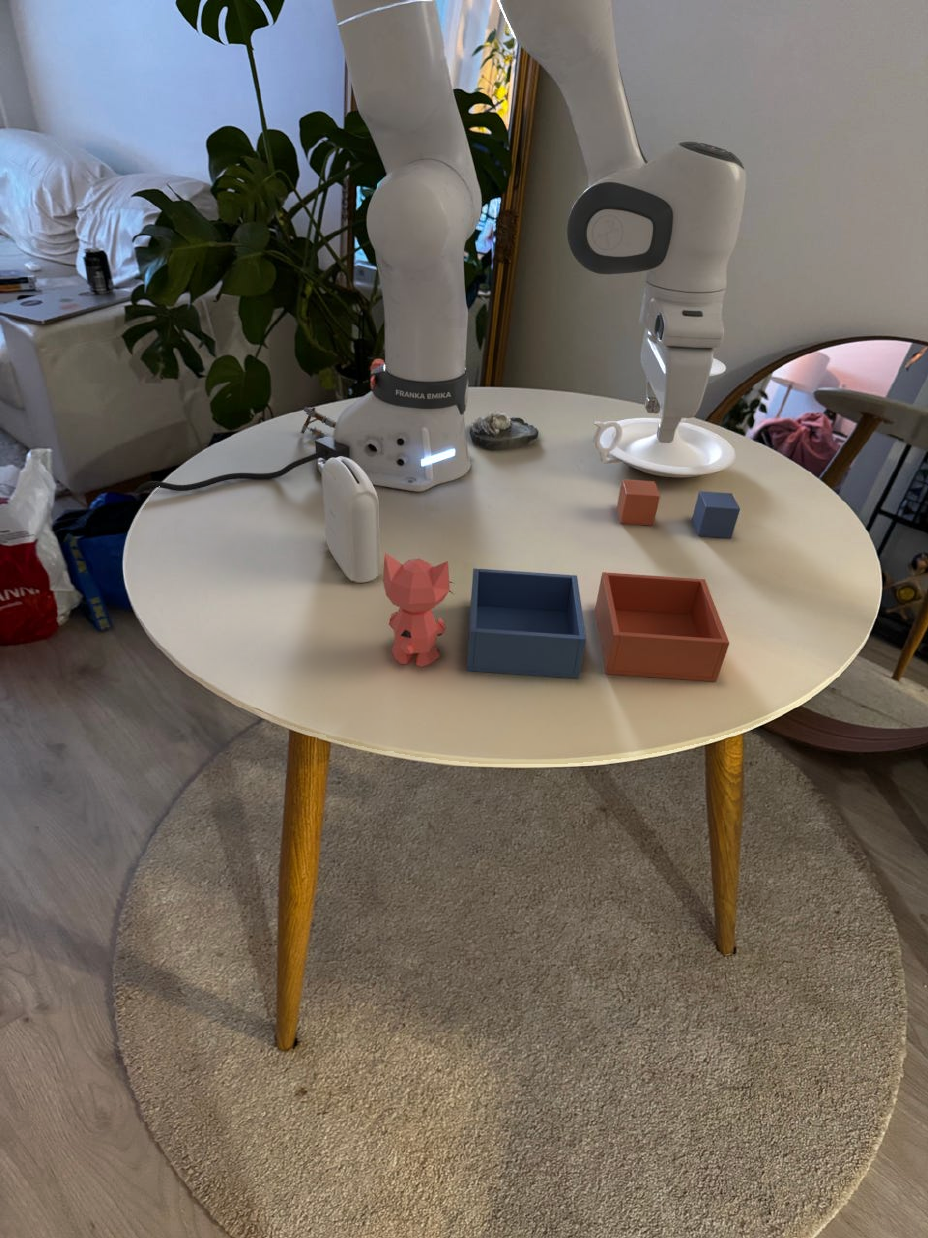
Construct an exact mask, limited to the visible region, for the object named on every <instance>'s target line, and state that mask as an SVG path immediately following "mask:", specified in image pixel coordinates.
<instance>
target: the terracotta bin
mask: <svg viewBox="0 0 928 1238" xmlns="http://www.w3.org/2000/svg"><path fill="white" fill-rule="evenodd" d="M594 607H595V608H594V611H595V617H596V623H597V629H598V635H599V642H600V648H601V654H602V659H603V660H602V661H603V665H604V671H605V674H606V675H615V676H629V677H630V676H631V677H641V678H642V677H643V678H644V677H645V678H656V679H657V678H658V679H671V680H686V681H687V680H688V681H701V682H702V681H703V682H716V683H717V681H718V678H719V675H720V672H721V669H722V667H723V664H724V662H725V658H726V655H727V653H728V649H729V647H730V641H729V638H728V635H727V632H726V630H725V628H724V625H723V622H722V620H721V617H720V615H719V612H718V609H717V606H716V605H715V602H714V599H713V597H712V594H711V591H710V589H709V587H708V583H707V581H706V579H705V578H695V577H694V578H693V577H679V576H678V577H677V576H663V575H651V574H634V573H619V572H608V571H607V572H606V571H605V572H604V571H602V572H601V576H600V581H599V587H598V592H597V597H596V602H595V606H594Z"/></svg>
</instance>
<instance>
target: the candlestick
mask: <svg viewBox="0 0 928 1238" xmlns="http://www.w3.org/2000/svg"><path fill="white" fill-rule="evenodd" d="M726 370H727V366H726V365H725V364H724V362H722V361H721V360H719V359H717V358H715V357H713V362H712V367H711V371H710V375H709V377H714V376H718V375H721V374H724V372H726ZM657 414H658V416H659V417H660V418H658V417H636V418H635V417H634V418H627V419H621V420H617V421H614V420H608V421H605V422H602V421H599V420H598V421H594V422H593V425H594V426H596V427H597V429H596V430H595V433H594V436H593V446H594V447H595V449H596V450H597V452H599V460H600V461H601V462H602V463H604V464H616V463H621V462H623V463H624V464H625V465H628V466H629V467H631V468H633V469H636V470H639V471H641V472H642V473H647V474H650V475H653V476H659V477H664V478H665V477H666V478H691V477H699V476H703V475H707V474H712V473H713V474H714V473H718V472H720V471H723V470H725V469H728V468H729V467H730V466H731V465H733V464H734V462H735V460H736V457H737V455H736V450H735V449H734V447H733V446H732V445H731V443H729V442H728V441H727V440H726V439H725V438H724V437H722V436H720V435H719V434H717V433H715V432H713V431H711V430H709V429H707V428H704V427H701V426H699V425H695V424H692V423H687V422H685V421H686V420H688V418H682V419H681V421H680V423H679V424H678V426H677V428H676V429H675V434H674V439H673V441H672V442H671V443H661V442H659V441H658V438H657V430H658V424H660V422H661V419H662V409H661V408H660V412H659V413H657ZM608 454H610V455H612V456H613V457H608Z"/></svg>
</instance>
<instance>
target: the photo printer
mask: <svg viewBox="0 0 928 1238" xmlns="http://www.w3.org/2000/svg"><path fill="white" fill-rule="evenodd" d="M321 484H322V485H321V486H322V487H321V488H322V501H323V502H322V503H323V513H324V514H323V515H324V516H323V517H324V529H325V539H326V540H325V541H326V544H327V548H328V550H329V552H330V554H331V555H332V557H333V558H334V560H335V562H336V563H337V565H338V566H339V568H340V569H341V570H342V572H343V573H344V575H345V576H346V577H347V578H348V579H349V581H351V582H354V583H368V582H372V581H374V580H375V579H377V577H378V576H380V574H381V546H380V539H381V538H380V503H379V497H378V493H377V491H376V489H375V487H374V485H372V483H371V481H370V480H369V478H368V477H367V475H366V473H365V472H364V471H363V470H362V469H361V468H360V467H359V466H358V465H357V464H356V463H355V462H353V461H352V460H350V459H348V458H346V457H342V456H339V457H337V458H330V459H329V460H327V461H326V463H325V464H324V466H323V469H322V474H321Z"/></svg>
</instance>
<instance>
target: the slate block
mask: <svg viewBox="0 0 928 1238" xmlns="http://www.w3.org/2000/svg"><path fill="white" fill-rule="evenodd" d="M740 511H741V508H740V506H739V504H738V501H737V500H736V497H735V496H734V494H733V493H731V492H719V491H718V492H717V491H703V490H699V491H698V493H697V498H696V502H695V505H694V509H693V513H692V516H691V522H692V524H693V527H694V530H695V532H696V534H697V536H698V537H704V538H705V537H706V538H719V539H732V538H733V534H734V531H735V527H736V524H737V521H738V518H739V514H740Z"/></svg>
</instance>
